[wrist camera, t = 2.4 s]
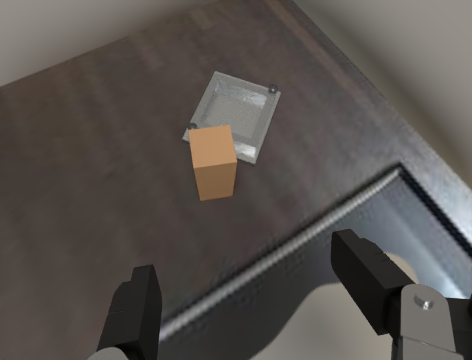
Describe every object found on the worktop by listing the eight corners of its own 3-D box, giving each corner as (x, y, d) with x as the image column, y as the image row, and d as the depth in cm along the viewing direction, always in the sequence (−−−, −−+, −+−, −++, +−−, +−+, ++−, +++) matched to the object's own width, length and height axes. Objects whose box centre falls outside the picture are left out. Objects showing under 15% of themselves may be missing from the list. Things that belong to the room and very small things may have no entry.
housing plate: (254, 166, 37) (256, 157, 35) (182, 141, 38) (180, 131, 35) (279, 95, 41) (283, 83, 39) (215, 75, 42) (215, 61, 40)
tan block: (232, 195, 35) (237, 161, 26) (200, 200, 35) (193, 168, 26) (227, 166, 37) (229, 124, 28) (196, 171, 36) (188, 130, 27)
